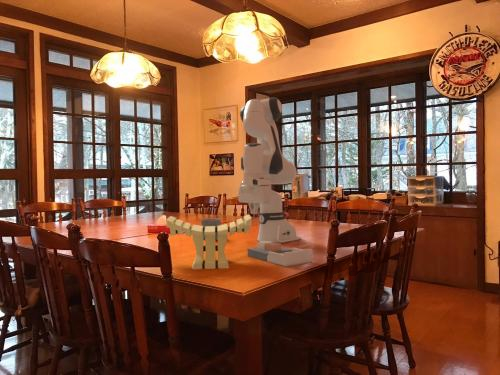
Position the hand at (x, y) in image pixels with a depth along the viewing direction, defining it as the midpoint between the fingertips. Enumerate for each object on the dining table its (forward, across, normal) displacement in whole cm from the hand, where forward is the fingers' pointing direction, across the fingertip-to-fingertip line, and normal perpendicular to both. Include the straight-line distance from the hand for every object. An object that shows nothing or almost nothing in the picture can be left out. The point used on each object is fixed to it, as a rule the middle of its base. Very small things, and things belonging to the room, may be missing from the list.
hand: (254, 213), depth 172 cm
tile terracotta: (+14, +13, 0) cm, 19 cm away
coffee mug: (+16, -46, +4) cm, 48 cm away
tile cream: (+14, +7, 0) cm, 15 cm away
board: (+17, +10, 0) cm, 20 cm away
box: (+17, +23, 0) cm, 28 cm away
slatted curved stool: (+17, +7, -25) cm, 31 cm away
